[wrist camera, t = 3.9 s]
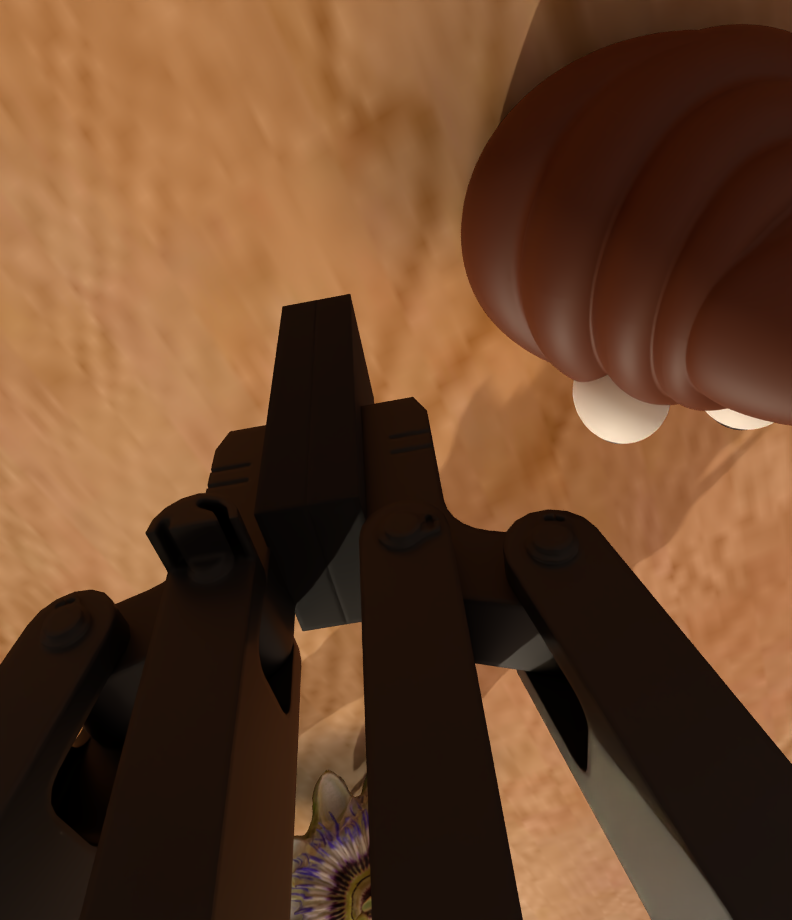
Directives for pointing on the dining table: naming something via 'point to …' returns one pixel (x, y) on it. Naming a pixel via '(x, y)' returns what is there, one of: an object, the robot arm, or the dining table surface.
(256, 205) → the dining table surface
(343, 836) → the passion flower
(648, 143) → the poop emoji
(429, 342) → the dining table surface
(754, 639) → the dining table surface
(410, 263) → the dining table surface
